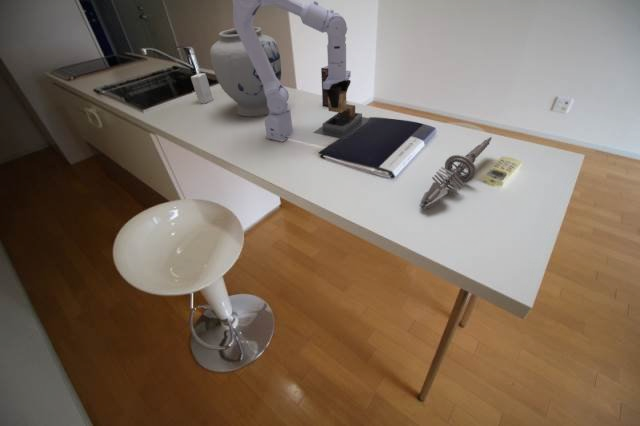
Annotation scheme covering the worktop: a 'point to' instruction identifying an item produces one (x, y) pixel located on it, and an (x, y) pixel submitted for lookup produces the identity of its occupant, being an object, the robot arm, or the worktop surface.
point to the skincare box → (202, 88)
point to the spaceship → (453, 175)
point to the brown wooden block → (348, 112)
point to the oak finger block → (339, 103)
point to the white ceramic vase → (243, 71)
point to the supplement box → (324, 76)
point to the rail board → (341, 126)
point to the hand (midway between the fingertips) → (337, 105)
